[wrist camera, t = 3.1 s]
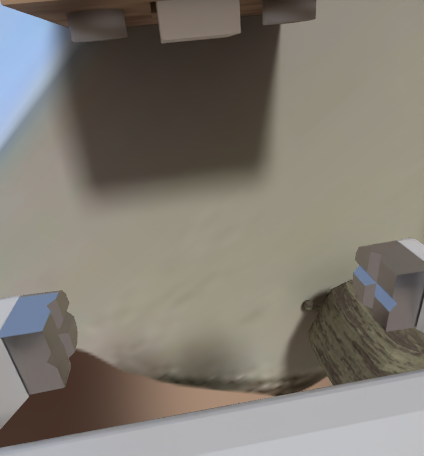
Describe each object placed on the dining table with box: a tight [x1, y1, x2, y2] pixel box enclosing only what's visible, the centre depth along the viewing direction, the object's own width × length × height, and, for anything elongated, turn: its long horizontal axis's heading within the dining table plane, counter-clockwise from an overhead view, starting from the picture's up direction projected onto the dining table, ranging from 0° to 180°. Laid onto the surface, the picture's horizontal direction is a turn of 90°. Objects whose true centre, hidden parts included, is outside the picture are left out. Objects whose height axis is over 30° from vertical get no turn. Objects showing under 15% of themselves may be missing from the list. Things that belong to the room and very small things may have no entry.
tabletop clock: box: [303, 280, 424, 386], centre depth 41 cm, size 14×9×25 cm, turn 72°
